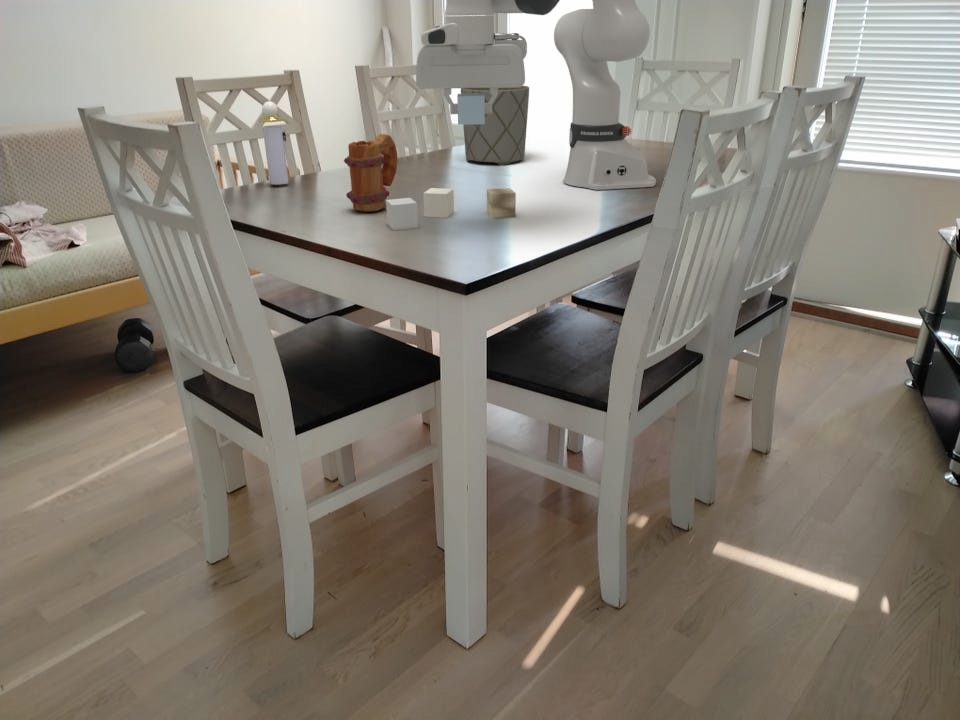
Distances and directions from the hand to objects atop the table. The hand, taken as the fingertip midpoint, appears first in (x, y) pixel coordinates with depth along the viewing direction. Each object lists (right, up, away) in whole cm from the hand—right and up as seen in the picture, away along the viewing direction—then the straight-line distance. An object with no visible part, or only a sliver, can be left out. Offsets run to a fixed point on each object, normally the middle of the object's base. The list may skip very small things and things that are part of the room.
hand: (471, 113), depth 138 cm
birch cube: (+6, -16, +15) cm, 23 cm away
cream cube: (-7, -16, +16) cm, 24 cm away
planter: (+6, +11, +73) cm, 74 cm away
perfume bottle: (-48, -3, +45) cm, 66 cm away
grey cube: (-14, -20, +8) cm, 25 cm away
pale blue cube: (0, -1, +1) cm, 2 cm away
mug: (-21, -13, +22) cm, 33 cm away
